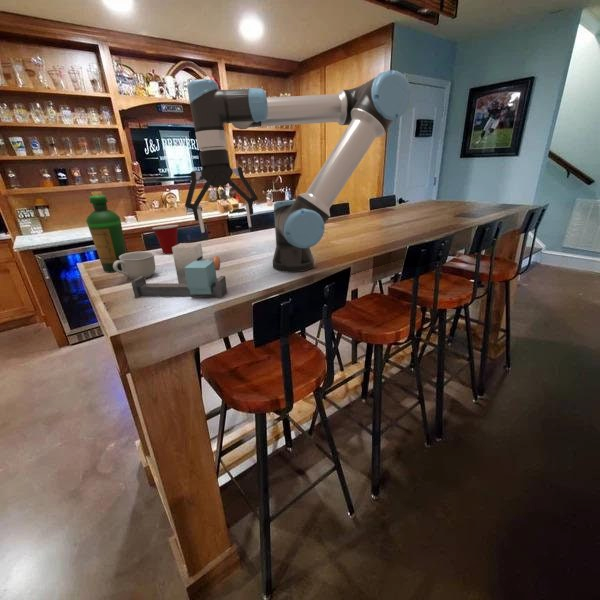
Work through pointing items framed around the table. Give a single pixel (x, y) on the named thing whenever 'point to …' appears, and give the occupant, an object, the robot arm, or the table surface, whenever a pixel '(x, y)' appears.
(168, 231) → the plastic cup
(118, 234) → the bottle
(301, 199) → the robot arm
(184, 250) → the cabinet
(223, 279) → the rail
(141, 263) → the teacup
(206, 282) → the carriage
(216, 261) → the button
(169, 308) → the table surface
